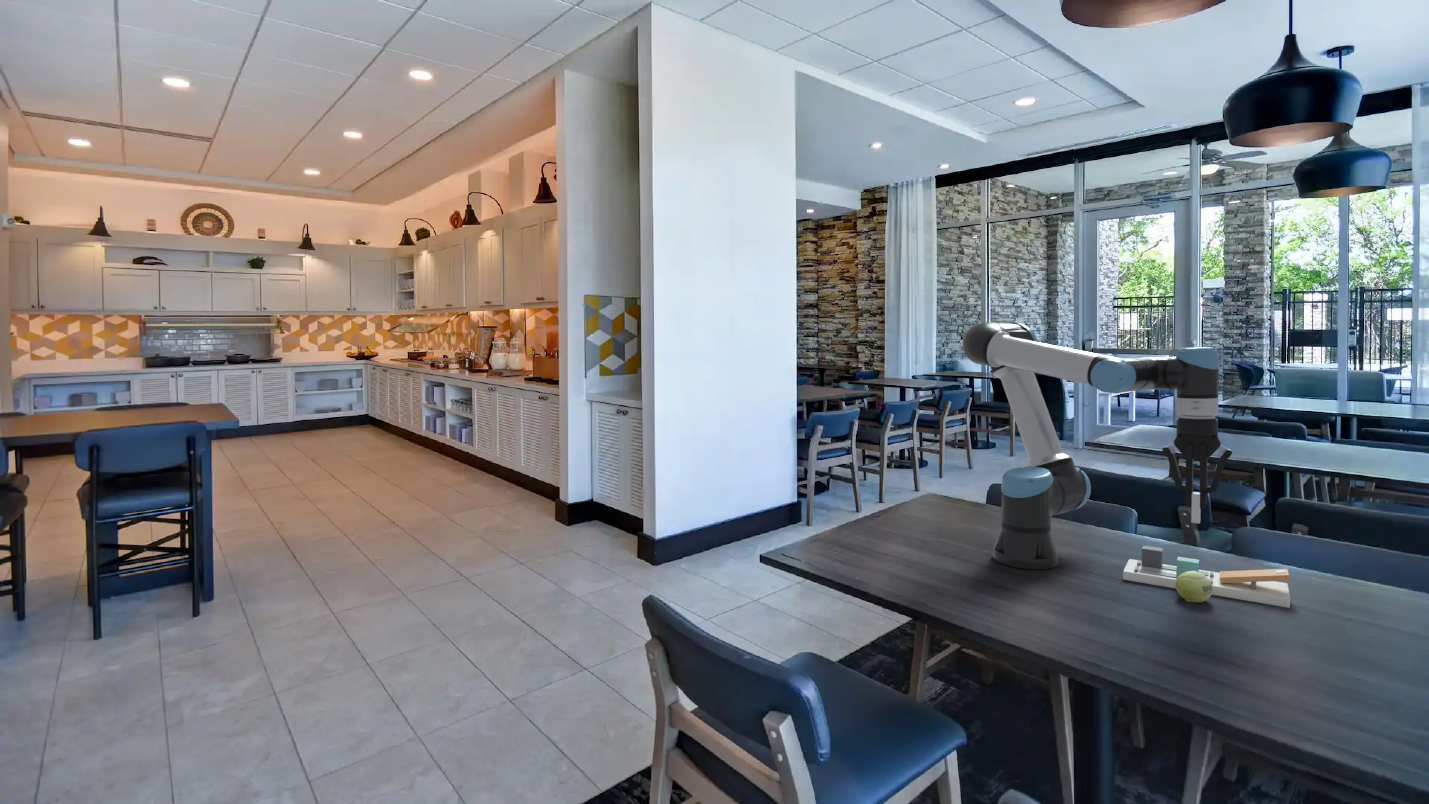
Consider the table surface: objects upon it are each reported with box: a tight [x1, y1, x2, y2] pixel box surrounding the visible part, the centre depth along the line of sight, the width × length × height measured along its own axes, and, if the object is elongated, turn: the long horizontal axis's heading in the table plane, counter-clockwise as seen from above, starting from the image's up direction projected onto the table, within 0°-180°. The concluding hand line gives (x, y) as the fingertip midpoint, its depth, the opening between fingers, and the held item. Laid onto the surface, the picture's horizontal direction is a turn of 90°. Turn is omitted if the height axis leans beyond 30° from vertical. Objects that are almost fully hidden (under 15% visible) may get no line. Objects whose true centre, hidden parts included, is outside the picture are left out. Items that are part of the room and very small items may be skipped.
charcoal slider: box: [1141, 545, 1164, 568], centre depth 163 cm, size 4×3×4 cm
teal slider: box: [1176, 556, 1200, 577], centre depth 154 cm, size 4×3×4 cm
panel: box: [1122, 558, 1291, 609], centre depth 155 cm, size 30×11×3 cm, turn 53°
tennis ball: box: [1175, 571, 1213, 603], centre depth 147 cm, size 6×7×7 cm
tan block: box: [1219, 568, 1291, 583], centre depth 149 cm, size 12×5×1 cm, turn 52°
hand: (1195, 521), depth 153 cm, fingers closed
